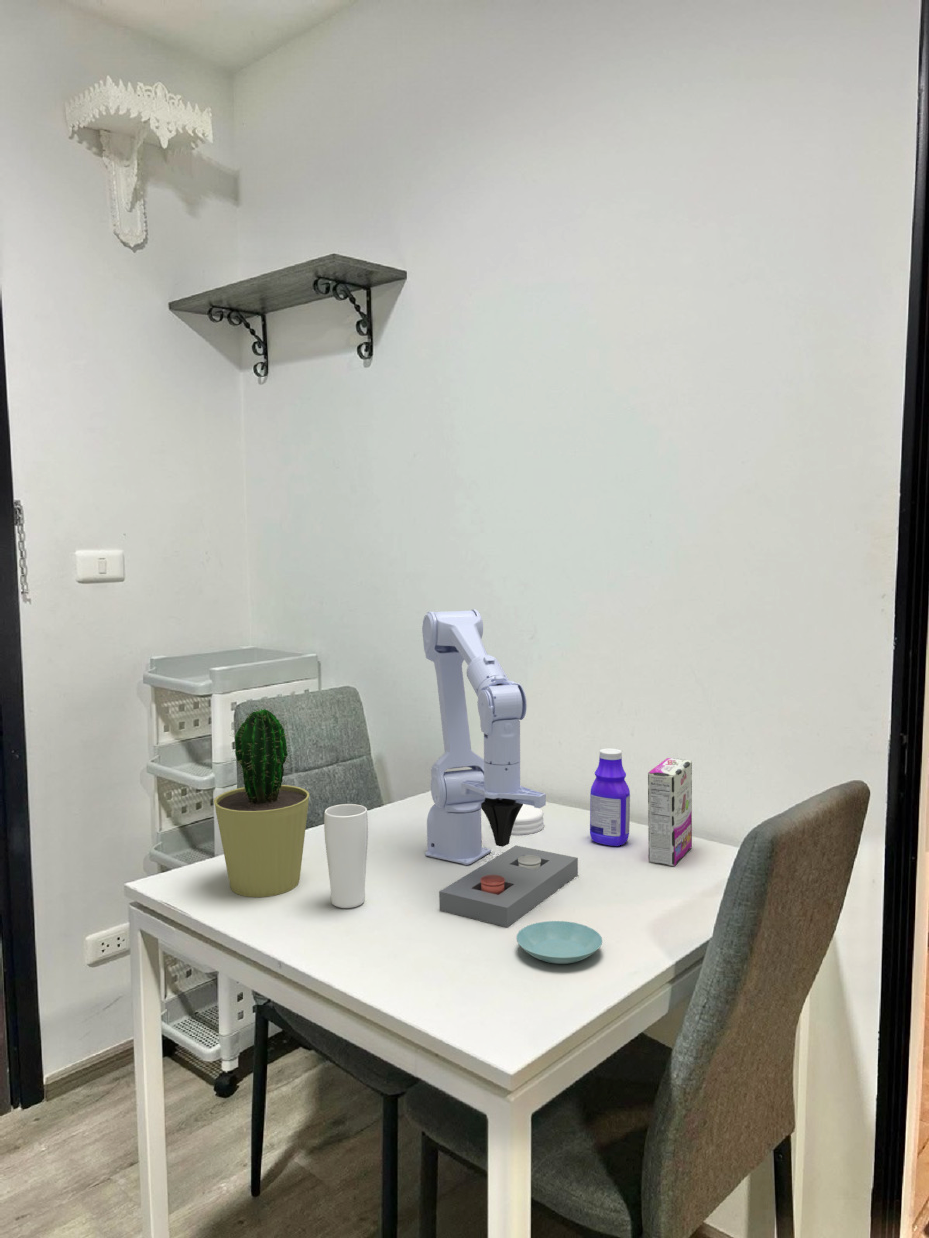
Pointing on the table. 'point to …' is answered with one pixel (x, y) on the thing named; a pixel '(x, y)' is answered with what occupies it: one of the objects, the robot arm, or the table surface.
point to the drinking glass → (346, 853)
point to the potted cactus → (262, 813)
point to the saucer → (559, 941)
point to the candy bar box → (670, 811)
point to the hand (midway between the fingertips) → (502, 844)
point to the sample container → (529, 862)
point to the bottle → (610, 800)
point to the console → (508, 886)
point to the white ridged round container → (528, 821)
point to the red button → (492, 884)
